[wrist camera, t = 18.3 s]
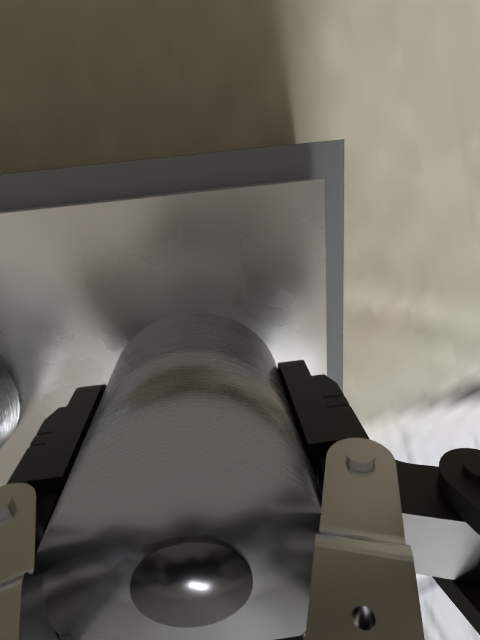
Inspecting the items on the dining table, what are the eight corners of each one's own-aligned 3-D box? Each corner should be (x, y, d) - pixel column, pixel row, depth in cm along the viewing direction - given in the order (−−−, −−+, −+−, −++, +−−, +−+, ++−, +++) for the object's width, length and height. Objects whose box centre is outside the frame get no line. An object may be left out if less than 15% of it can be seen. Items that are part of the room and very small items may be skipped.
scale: (296, 143, 19) (621, 111, 4) (307, 446, 26) (444, 832, 11) (-96, 184, 18) (-1364, 316, 3) (24, 485, 25) (-227, 951, 10)
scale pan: (317, 177, 12) (324, 179, 12) (323, 493, 17) (328, 507, 17) (-223, 234, 12) (-251, 239, 11) (-54, 545, 17) (-66, 563, 16)
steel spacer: (272, 301, 11) (340, 444, 6) (284, 443, 13) (343, 655, 8) (94, 324, 11) (-18, 495, 6) (132, 465, 13) (78, 698, 7)
